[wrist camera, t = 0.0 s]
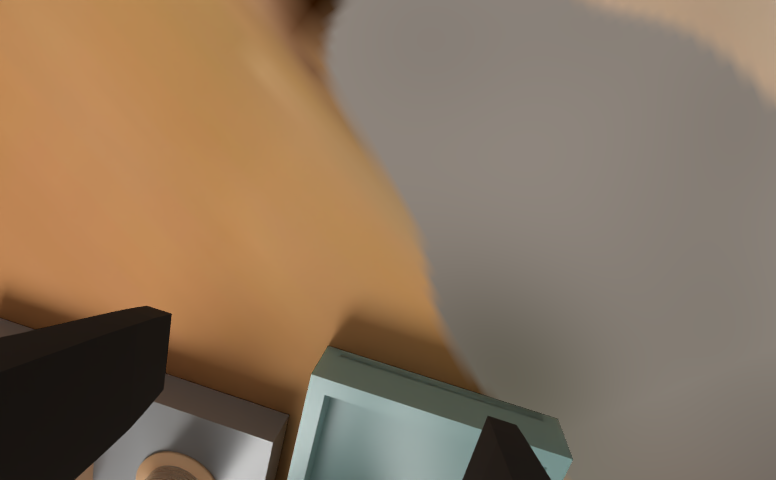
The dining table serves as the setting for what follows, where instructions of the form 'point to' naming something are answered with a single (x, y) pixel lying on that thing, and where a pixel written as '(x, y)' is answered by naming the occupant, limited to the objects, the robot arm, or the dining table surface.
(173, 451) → the battery checker
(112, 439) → the robot arm
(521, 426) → the trough
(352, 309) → the dining table surface
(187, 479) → the steel cell
